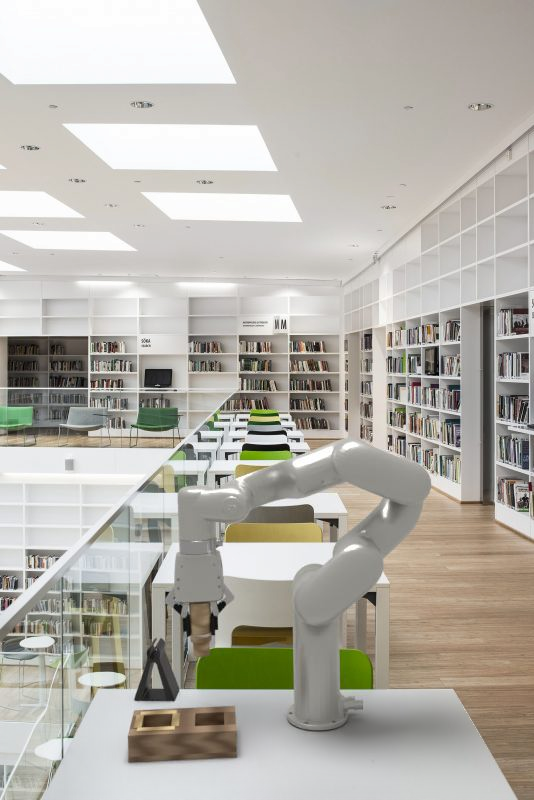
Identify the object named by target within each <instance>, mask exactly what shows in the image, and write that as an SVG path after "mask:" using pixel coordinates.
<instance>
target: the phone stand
mask: <svg viewBox="0 0 534 800" xmlns="http://www.w3.org/2000/svg"><path fill="white" fill-rule="evenodd" d="M157 639H158V638H157V637H156V638H153V640H152V641H151V643H150V645H149V646H148V648H147V650H146V663H145V666H144V669H143V672H142V674H141V678H140V681H139V684H138V687H137V689H136V693H135V695H134V698H133V700H134V701H135V702H175V700H176V698H177V696H178V693H179V691H180V687H179V684H178V681H177V678H176V676H175V673H174V671H173V668H172V666H171V663H170V661H169V660H170V659H169V657H168V655H167V653H166V642H165V639H163V638H162V637H160V638H159V640H158V642H157V643H156V641H157ZM155 643H156V645H155ZM154 645H155V646H154ZM154 664H155V665H156V668H157V671H158V674H159V677H160V681H161V684H162V688H153V687H152V688H151V687H149V685H150V681H151V677H152V672H153V668H154Z"/></svg>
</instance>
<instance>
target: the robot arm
mask: <svg viewBox="0 0 534 800" xmlns="http://www.w3.org/2000/svg"><path fill="white" fill-rule="evenodd" d="M344 483H348V484H350V485H352V486H354V487H357V488H359V489H361V490H364V491H366V492H369V493H372V494H373V495H376V496H379V497H382V498H381V501H380V502H379V503H378V505H377V506H376V507H375V508H374V509H373V510H372V511H371V512H370V513H369V514H367V516H365V518H363V519H362V520H361V521H360V522H359V523H357V525H354V527H353V528H352V529H350V530H349V531H348V532H346V533H345V534H344V535H343V536H341V537H340V538H339V539H338V540H337V541H336V542H335V545H334V546H333V549H332V557H331V558H330V559H329V560H327V561H326V562H325V563H324V564H320V563H309V564H305V565H304V566H302V567H301V568H299V570H297V572H296V573H295V575H294V577H293V579H292V582H291V583H292V584H291V603H292V604H291V605H292V606H291V607H292V610H291V611H292V640H293V641H292V646H293V647H292V648H293V649H292V651H293V652H292V653H293V654H292V655H293V656H292V657H293V660H292V662H293V704H291V706H289V707H288V709H287V710H286V719H287V721H288V722H289V723H290V724H291V725H293V726H295V727H297V728H300V729H303V730H309V731H328V730H333V729H336V728H337V729H338V728H339V727H342V726H343V725H344V724H346V722H347V721H348V719H349V710H354V711H356V710H357V711H359V710H360V711H361V710H364V701H363V699H356V697H355V696H354V695H351V696H349V695H348V696H344V695H342V693H341V681H340V679H341V678H340V677H341V676H340V675H341V671H340V670H341V669H340V667H341V665H340V616H341V615H342V614H344V613H345V612H346V611H348V610H349V609H350V608H351V607H352V606H353V605H354V604H356V603H357V602H358V601H359V600H360V599H362V598H363V597H364V596H365V595H366V594H367V593H368V592H369V591H370V590H372V589H373V587H374V586H376V584H378V582H379V580H380V579H381V577H382V574H383V572H384V566H385V565H384V562H385V561H384V559H385V558H386V557H387V556H388V555H389V554H390V553H392V552H393V551H394V550H395V549H396V548H397V547H398V546H399V545H400V544H401V543H402V542H403V541H404V540H405V539H407V537H408V536H409V535H410V534H411V533H412V531H413V530H414V528H416V525H417V524H418V522H419V520H420V518H421V515H422V513H423V512H422V511H423V507H424V501H425V500H426V499H427V498H428V497H429V494H430V493H431V490H432V478H431V476H430V473H429V472H428V471H427V469H426V468H425V467H424V466H422V465H421V464H419V462H417V461H415V460H414V459H412V458H409V457H402V456H401V457H400V456H396V455H395V454H392V453H389V452H388V451H387V452H386V451H384V450H382V449H381V448H377V447H376V446H373V445H371V444H368V443H367V442H366V441H365V440H363V439H361V438H359V437H355V436H348V437H345V438H340V439H339V440H335V441H333V442H331V443H329V444H325V445H323V446H319V447H317V448H314V449H312V450H310V451H308V452H305V453H304V452H303V453H302V454H300V455H296V456H293V457H291V458H287V459H285V460H283V461H279V462H277V463H275V464H273V465H270V466H266V467H262V468H261V469H258V470H256V471H255V470H254V471H252V472H249V473H246V474H244V475H241V476H239V477H237V478H234V479H233V478H232V479H231V480H229V481H228V482H226V483H224V484H222V486H221V487H219V488H212V487H210V486H208V485H188V486H183V487H182V488H180V489H179V490H178V492H177V517H178V518H177V519H178V521H177V522H178V544H179V545H178V547H179V550H178V551H177V552H176V553H175V561H174V572H173V574H174V583H173V584H174V585H173V586H172V588H171V589H170V591H169V592H168V594H167V596H166V597H165V599H164V603H165V604H166V605H167V606H169V607H170V608H173V609H174V611H175V612H176V613H178V614H179V615H180V616H181V618H182V629H183V630H182V632H186V638H190V614H189V603H201V602H210V604H211V635H212V637H213V636H216V631H218V630H219V615H220V613H221V612H222V611H223V610H224V609H225V608H226V606H228V605H229V604H230V603H232V602H233V601H234V600H235V595H234V594H233V592H232V591H231V590H230V589H229V587H228V586H227V585H226V583H225V581H224V568H223V560H222V555H221V552H220V550H219V549H218V548H220V547H224V541H223V539H219V538H217V537H216V536H217V535H216V523H221V524H222V523H223V524H233V525H234V524H238V523H241V522H243V521H245V519H246V518H248V516H249V513H250V512H251V510H254V509H256V508H259V507H261V506H264V505H267V504H270V503H273V502H276V501H280V500H285V499H289V500H291V499H292V500H293V499H294V500H298V499H303V498H304V499H306V498H308V497H310V496H313V495H315V494H318V493H320V492H323V491H326V490H328V489H331V488H334V487H337V486H339V485H342V484H344ZM224 596H225V597H224Z"/></svg>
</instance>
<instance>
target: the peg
mask: <svg viewBox="0 0 534 800" xmlns="http://www.w3.org/2000/svg"><path fill="white" fill-rule="evenodd" d="M188 612H189V614H190V636H189V639H190V640H189V641H190V642H191V643H192V648H193V649H192V650H193V651H192V653H193V654H192V655H193V657H196V658H206V657H208V656H210V655H211V649H210V648H211V645H210V644H211V643H210V642H211V641H213V639H212V638H213V635H211V613H212V608H211V604H210V602H201V603H189V607H188Z"/></svg>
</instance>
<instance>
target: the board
mask: <svg viewBox="0 0 534 800" xmlns="http://www.w3.org/2000/svg"><path fill="white" fill-rule="evenodd" d="M236 721H237V718H236V706H235V705H223V706H221V705H220V706H219V705H217V706H203V707H202V706H201V707H199V706H198V707H179V708H178V707H175V708H155V709H134V710H133V714H132V718H131V721H130V726H129V730H128V734H127V753H128V754H127V756H128V763H143V762H164V761H165V762H166V761H182V760H183V761H184V760H185V761H186V760H188V761H189V760H203V759H206V760H207V759H209V760H210V759H225V758H237V757H238V755H237V753H238V751H237V750H238V749H237V745H238V744H237V743H238V742H237V722H236Z"/></svg>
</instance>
